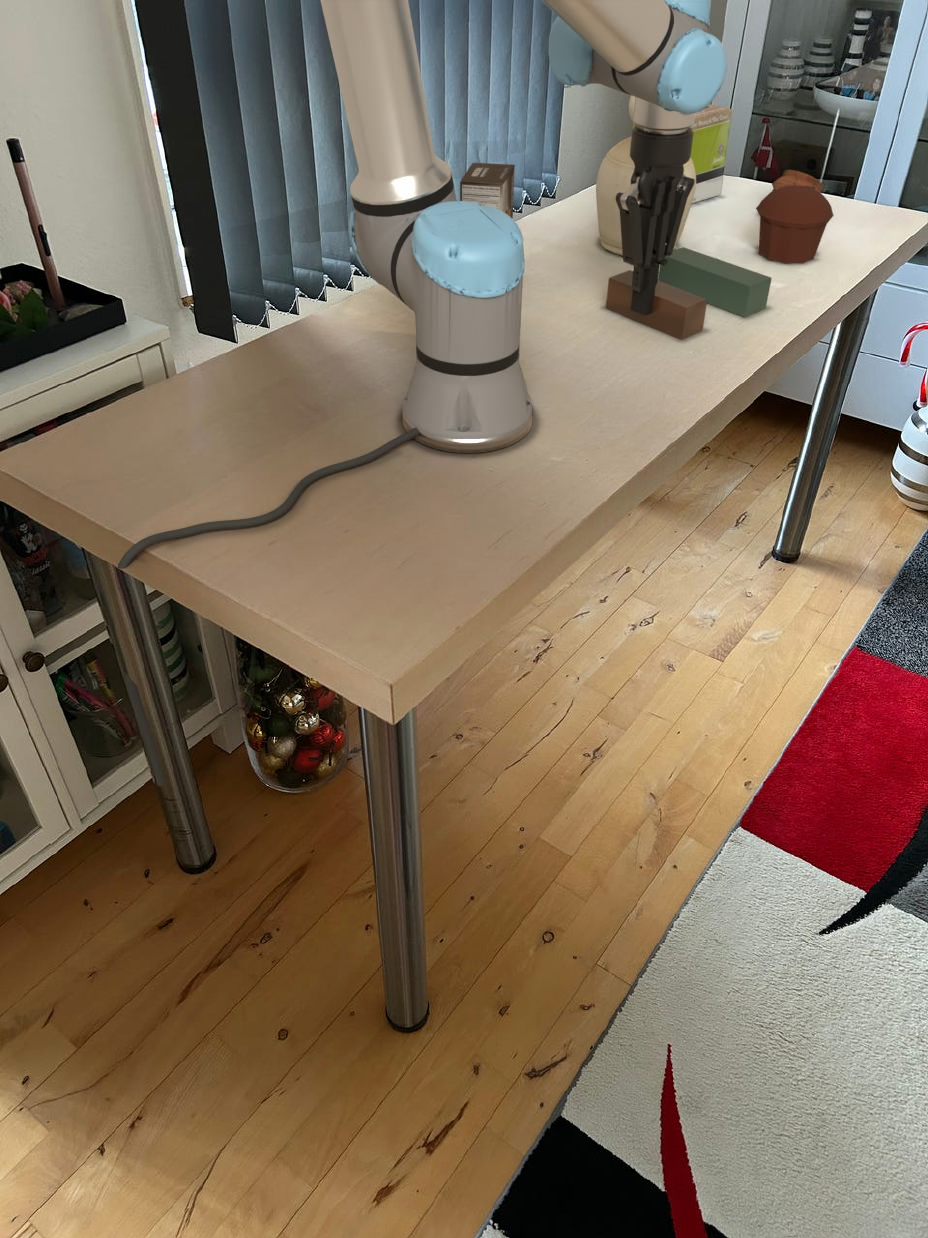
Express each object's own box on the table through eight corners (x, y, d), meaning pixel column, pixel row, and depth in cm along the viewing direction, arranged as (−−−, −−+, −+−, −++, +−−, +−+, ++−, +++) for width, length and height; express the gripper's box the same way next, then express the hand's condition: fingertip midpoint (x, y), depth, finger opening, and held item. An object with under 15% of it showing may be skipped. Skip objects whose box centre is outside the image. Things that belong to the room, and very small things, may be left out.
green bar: (744, 317, 142) (750, 286, 139) (657, 284, 151) (661, 254, 148) (765, 308, 144) (772, 277, 142) (679, 276, 154) (683, 246, 151)
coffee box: (470, 270, 155) (472, 160, 145) (511, 274, 154) (515, 163, 144) (458, 293, 148) (459, 179, 138) (501, 297, 147) (504, 182, 137)
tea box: (680, 183, 189) (692, 96, 180) (721, 196, 183) (735, 108, 174) (623, 199, 182) (632, 109, 173) (664, 213, 176) (676, 121, 166)
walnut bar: (681, 340, 136) (686, 307, 133) (605, 308, 144) (608, 277, 141) (702, 330, 138) (707, 299, 136) (626, 300, 147) (630, 269, 144)
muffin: (824, 245, 164) (839, 181, 158) (823, 269, 156) (839, 203, 149) (750, 238, 167) (761, 174, 160) (745, 262, 158) (757, 196, 152)
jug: (678, 267, 157) (703, 90, 141) (581, 255, 160) (595, 81, 144) (693, 235, 168) (718, 67, 152) (602, 224, 171) (617, 59, 155)
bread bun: (747, 211, 178) (770, 165, 176) (789, 234, 182) (811, 188, 179) (782, 215, 168) (807, 165, 165) (825, 238, 171) (850, 190, 168)
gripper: (651, 142, 118) (630, 332, 133) (720, 123, 125) (692, 307, 140) (604, 129, 122) (589, 315, 137) (673, 111, 129) (651, 291, 144)
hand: (641, 311), depth 139 cm, fingers closed
